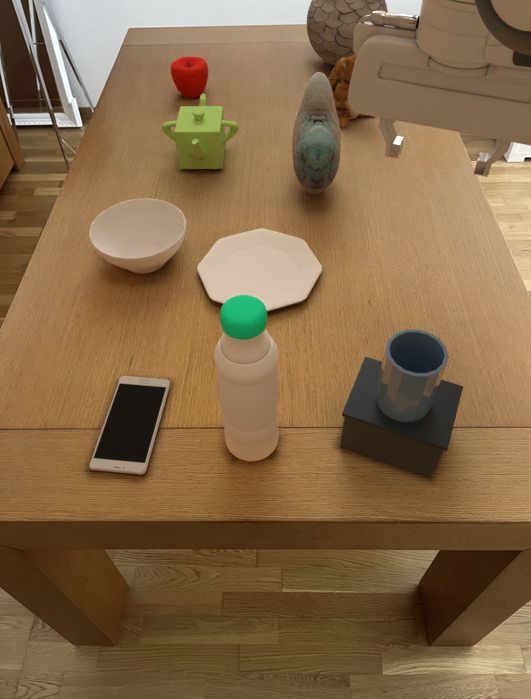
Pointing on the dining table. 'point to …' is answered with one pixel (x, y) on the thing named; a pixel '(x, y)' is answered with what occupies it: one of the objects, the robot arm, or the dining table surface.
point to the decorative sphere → (337, 25)
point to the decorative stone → (316, 136)
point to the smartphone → (130, 425)
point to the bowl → (138, 234)
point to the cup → (410, 374)
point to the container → (398, 425)
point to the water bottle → (247, 379)
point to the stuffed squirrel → (343, 89)
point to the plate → (260, 268)
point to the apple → (190, 76)
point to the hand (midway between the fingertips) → (436, 163)
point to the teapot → (200, 135)
